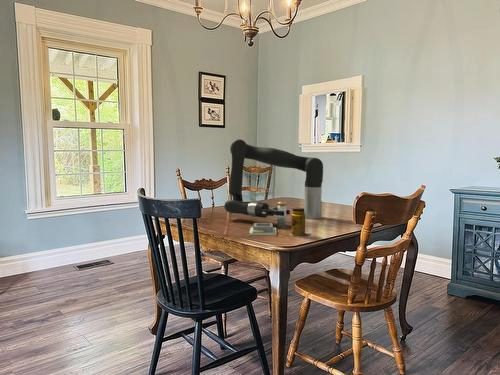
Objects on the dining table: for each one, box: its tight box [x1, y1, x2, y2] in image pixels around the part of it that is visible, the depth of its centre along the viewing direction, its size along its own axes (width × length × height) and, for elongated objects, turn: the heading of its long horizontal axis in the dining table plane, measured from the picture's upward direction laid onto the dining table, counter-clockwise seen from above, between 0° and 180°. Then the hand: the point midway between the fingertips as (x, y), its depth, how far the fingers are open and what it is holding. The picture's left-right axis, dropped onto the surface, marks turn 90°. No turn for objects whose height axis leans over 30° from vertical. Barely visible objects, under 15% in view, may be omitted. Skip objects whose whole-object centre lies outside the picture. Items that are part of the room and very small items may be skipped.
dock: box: [248, 222, 278, 237], centre depth 173 cm, size 12×12×4 cm
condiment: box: [288, 207, 310, 238], centre depth 169 cm, size 7×8×12 cm
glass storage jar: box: [276, 201, 288, 228], centre depth 187 cm, size 5×5×12 cm
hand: (286, 213), depth 185 cm, fingers closed on glass storage jar, 4 cm apart
